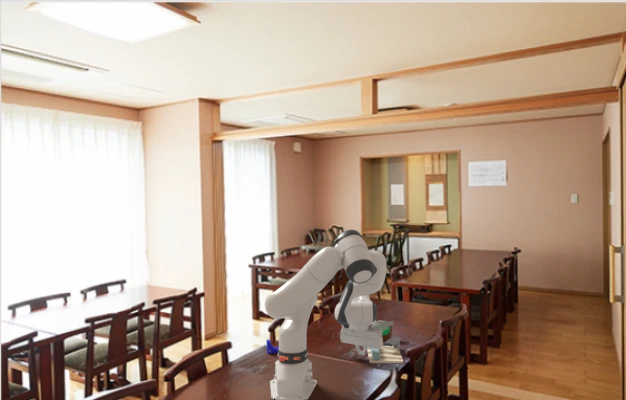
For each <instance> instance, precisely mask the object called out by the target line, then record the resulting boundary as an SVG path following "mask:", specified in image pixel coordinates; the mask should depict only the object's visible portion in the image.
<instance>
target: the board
mask: <svg viewBox="0 0 626 400" xmlns="http://www.w3.org/2000/svg"><path fill="white" fill-rule="evenodd" d="M366 351H367V356H368V361H369V364H404V359H403V356H402V354H401V352H400V349H399V348H393V346H392V347H391V346H386V345H383V346H382V347H381V348H379V357H380V360H373V358H372V353H371V349H369V347H367V349H366Z"/></svg>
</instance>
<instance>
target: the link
mask: <svg viewBox="0 0 626 400" xmlns="http://www.w3.org/2000/svg"><path fill="white" fill-rule="evenodd" d="M369 349H371V353H372V358H373V360H380V357H379V349H376V348H371V347H369Z"/></svg>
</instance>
